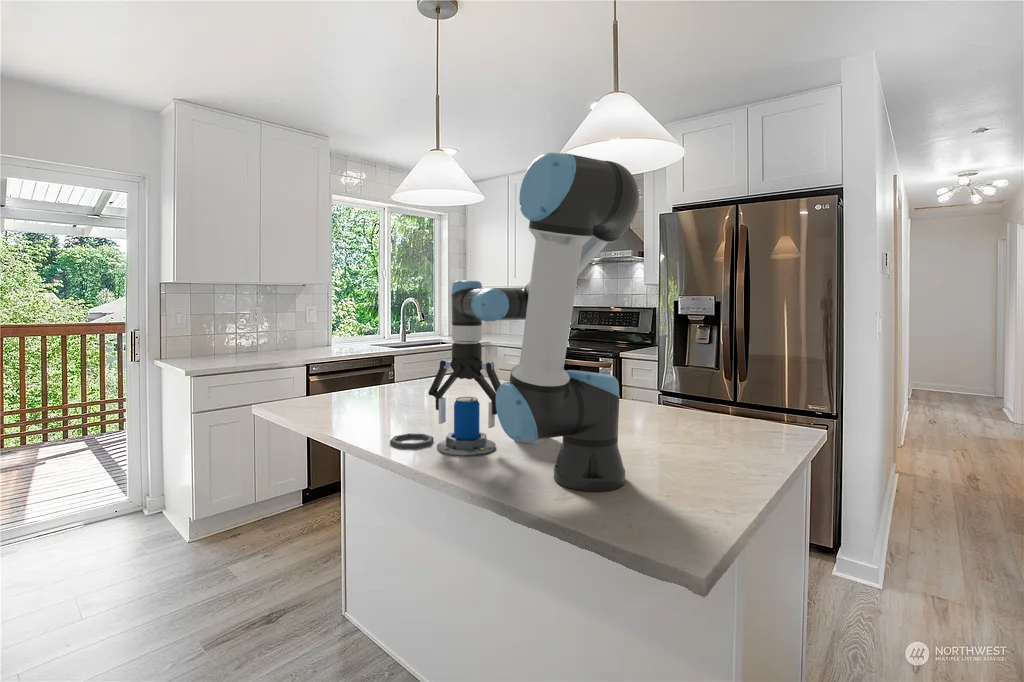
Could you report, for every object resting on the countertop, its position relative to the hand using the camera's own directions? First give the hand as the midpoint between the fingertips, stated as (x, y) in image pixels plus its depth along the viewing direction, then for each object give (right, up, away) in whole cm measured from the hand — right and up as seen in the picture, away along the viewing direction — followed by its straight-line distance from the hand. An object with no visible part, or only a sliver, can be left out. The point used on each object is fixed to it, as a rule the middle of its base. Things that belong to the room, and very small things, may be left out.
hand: (466, 425), depth 137 cm
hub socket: (0, -6, +1) cm, 6 cm away
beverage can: (0, -5, 0) cm, 5 cm away
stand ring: (-15, -5, +5) cm, 16 cm away
